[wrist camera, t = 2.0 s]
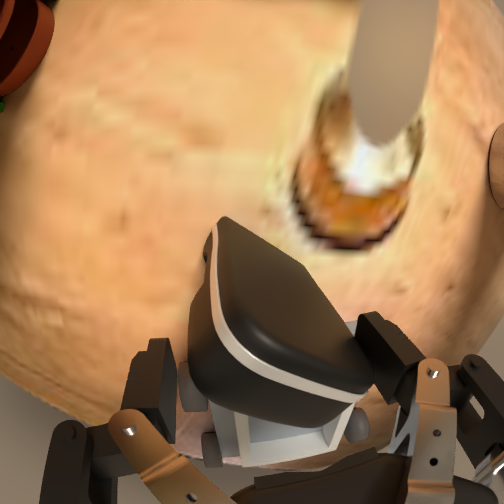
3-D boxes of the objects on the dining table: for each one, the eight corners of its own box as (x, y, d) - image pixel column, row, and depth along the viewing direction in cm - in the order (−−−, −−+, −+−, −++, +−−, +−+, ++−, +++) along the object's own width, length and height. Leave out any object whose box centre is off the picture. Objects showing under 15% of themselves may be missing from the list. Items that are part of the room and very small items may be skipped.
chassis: (385, 314, 22) (410, 342, 18) (349, 424, 29) (361, 448, 25) (177, 342, 20) (173, 380, 16) (207, 448, 26) (209, 476, 23)
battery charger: (187, 260, 18) (167, 410, 7) (219, 210, 17) (235, 328, 6) (274, 307, 20) (326, 446, 10) (307, 265, 19) (394, 391, 9)
